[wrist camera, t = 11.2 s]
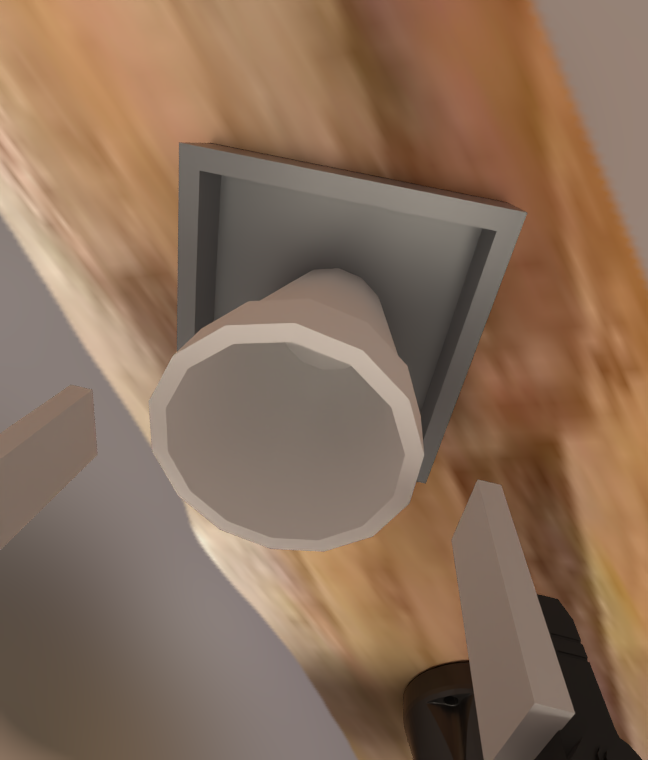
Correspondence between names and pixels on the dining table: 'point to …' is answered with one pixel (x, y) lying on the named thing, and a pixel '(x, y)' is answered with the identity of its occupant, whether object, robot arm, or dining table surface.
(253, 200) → the tray
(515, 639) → the robot arm
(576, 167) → the dining table surface
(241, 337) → the foam cup
